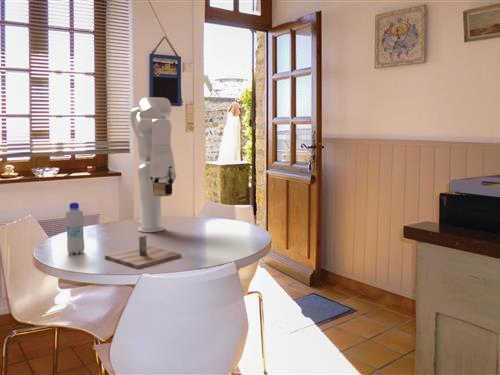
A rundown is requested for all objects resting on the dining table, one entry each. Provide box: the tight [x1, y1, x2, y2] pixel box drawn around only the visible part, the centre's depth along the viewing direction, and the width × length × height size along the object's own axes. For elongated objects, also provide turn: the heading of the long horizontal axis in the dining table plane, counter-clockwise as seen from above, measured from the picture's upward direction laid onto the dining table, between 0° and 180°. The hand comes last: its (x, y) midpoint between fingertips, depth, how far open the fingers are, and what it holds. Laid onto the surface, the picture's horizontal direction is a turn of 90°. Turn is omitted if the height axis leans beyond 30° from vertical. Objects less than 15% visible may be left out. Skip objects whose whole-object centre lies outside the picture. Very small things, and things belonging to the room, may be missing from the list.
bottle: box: [64, 202, 85, 256], centre depth 186 cm, size 7×7×20 cm
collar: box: [154, 182, 172, 197], centre depth 197 cm, size 7×7×5 cm
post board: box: [104, 235, 182, 270], centre depth 181 cm, size 20×20×8 cm
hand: (162, 192), depth 198 cm, fingers closed on collar, 6 cm apart
